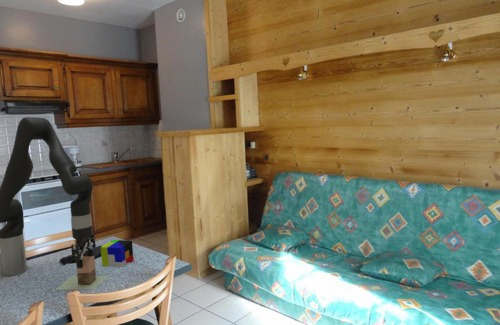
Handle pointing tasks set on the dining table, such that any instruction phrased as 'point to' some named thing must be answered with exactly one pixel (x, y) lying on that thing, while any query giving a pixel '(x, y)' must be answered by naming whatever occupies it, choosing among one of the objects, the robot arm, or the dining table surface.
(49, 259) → the dining table surface
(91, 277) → the walnut block
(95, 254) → the dark slate chunk
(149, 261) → the dining table surface
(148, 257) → the dining table surface
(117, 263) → the puzzle toy
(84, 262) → the terracotta block
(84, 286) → the build board
